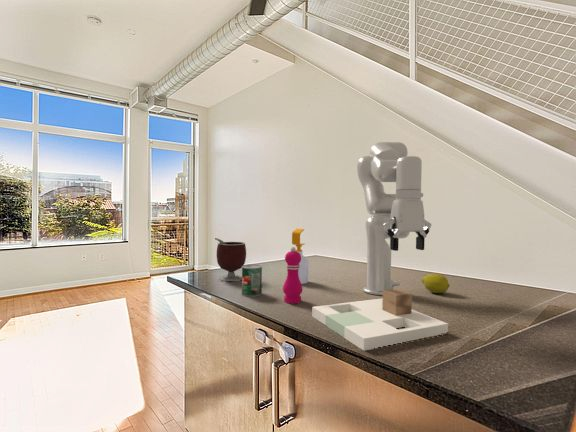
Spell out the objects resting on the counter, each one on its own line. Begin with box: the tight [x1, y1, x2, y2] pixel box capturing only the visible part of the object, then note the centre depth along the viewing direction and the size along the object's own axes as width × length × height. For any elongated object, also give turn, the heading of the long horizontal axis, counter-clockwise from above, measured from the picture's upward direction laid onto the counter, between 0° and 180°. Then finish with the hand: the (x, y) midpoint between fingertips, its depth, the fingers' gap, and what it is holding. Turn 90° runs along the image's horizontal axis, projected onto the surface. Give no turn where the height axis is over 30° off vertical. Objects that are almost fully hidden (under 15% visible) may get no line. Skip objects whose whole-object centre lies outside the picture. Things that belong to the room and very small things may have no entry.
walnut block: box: [382, 288, 413, 316], centre depth 100 cm, size 6×6×6 cm
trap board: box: [311, 297, 449, 351], centre depth 97 cm, size 28×27×3 cm
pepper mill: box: [282, 246, 303, 305], centre depth 121 cm, size 7×7×20 cm
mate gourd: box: [214, 237, 247, 282], centre depth 156 cm, size 16×14×20 cm
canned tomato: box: [241, 264, 263, 297], centre depth 130 cm, size 8×8×11 cm
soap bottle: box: [291, 228, 310, 285], centre depth 151 cm, size 9×9×25 cm
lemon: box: [421, 273, 451, 295], centre depth 135 cm, size 11×8×8 cm
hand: (407, 249), depth 104 cm, fingers open, 9 cm apart
